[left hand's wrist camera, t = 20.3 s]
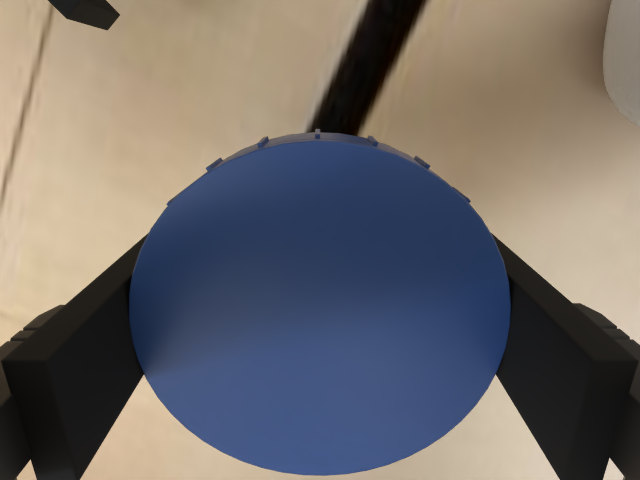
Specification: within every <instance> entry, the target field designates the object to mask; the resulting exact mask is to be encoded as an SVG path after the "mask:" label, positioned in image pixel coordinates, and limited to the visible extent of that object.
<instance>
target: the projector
mask: <svg viewBox="0 0 640 480" xmlns="http://www.w3.org/2000/svg"><path fill="white" fill-rule="evenodd" d="M603 76H604V82H605V87H606V89H607V92H608V95H609V97H610V99H611V101H612V102H613V104H614V105H615V107H616V108H617V109H618V110H619V111H620V112H621V113H622V114H623V115H624V116H625V117H626V118H627V119H628V120H629V121H630V122H632V123H634V124H635V125H637V126H638V127H640V0H611V5H610V9H609V15H608V21H607V27H606V33H605V39H604V51H603Z"/></svg>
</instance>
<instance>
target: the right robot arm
mask: <svg viewBox="0 0 640 480" xmlns="http://www.w3.org/2000/svg"><path fill="white" fill-rule="evenodd" d="M48 1H49V2H50V3H51V4H52V5H53V6H54V7H55V8H56V9H57V10H58V11H59V12H60V13H61V14H62V15H63V16H64V17H66V18H67V19H70V20H73V21H77V22H80V23H84V24H87V25H91V26H94V27H98V28H101V29H104V30H108V29H109V28H110V27H111V26H112V24H113V23H114V22H115V21H116V19H117V18H118V17H119V16H120V14H119V13H118V12H117V11H116V10H115V9H114V8H113V7H112V6H111V5H110V4H109V3H108V2H107V1H106V0H48Z"/></svg>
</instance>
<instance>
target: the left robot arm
mask: <svg viewBox="0 0 640 480" xmlns="http://www.w3.org/2000/svg"><path fill="white" fill-rule="evenodd" d="M148 234H149V233H148ZM148 234H147V235H146V236H145V237H143V238H142V239H141V240H140V241H139V242H138V243H136V244H135V245H134V246H133V247H132V248H131V249H130V250H128V251H127V252H126V253H125V254H124V255H123V256H121V257H120V258H119V259H118V260H117V261H116V262H115V263H113V264H112V265H111V266H110V267H109V268H108V269H106V270H105V271H104V272H103V273H102V274H101V275H99V276H98V277H97V278H96V279H95V280H94V281H93V282H91V283H90V284H89V285H88V286H87V287H86V288H84V289H83V290H82V291H81V292H80V293H79V294H78V295H76V296H75V297H74V298H73V299H72V300H71V301H69V302H68V303H67V304H66V305H59V306H57V307H55V308H53V309H51V310H49V311H47V312H45V313H43V314H41V315H39V316H37V317H36V318H35V319H34V320H33V321H31V322H30V323H29V324H28V325H26V326H25V327H24V328H23V331H19V332H18V333H17V334H16V335H14V336H13V337H12V338H11V340H10V341H7V342H6V343H5V344H3V345H2V346H1V347H0V480H17V478H16V477H17V476H18V475H19V473H20V472H21V471H22V470H23V468H24V467H25V466H26V464H27V463H28V462H29V460H30V459H31V462H32V465H33V468H34V472H35V475H36V478H37V480H80V478H81V477H82V475H83V474H84V472H85V470H86V469H87V467H88V465H89V464H90V462H91V460H92V459H93V457H94V455H95V454H96V452H97V450H98V449H99V447H100V446H101V444H102V442H103V441H104V439H105V437H106V436H107V434H108V432H109V431H110V429H111V427H112V426H113V424H114V423H115V421H116V419H117V418H118V416H119V414H120V413H121V411H122V409H123V408H124V406H125V404H126V403H127V401H128V399H129V398H130V396H131V395H132V393H133V391H134V390H135V388H136V386H137V385H138V383H139V381H140V380H141V378H142V376H143V375H144V373H143V370H142V368H141V366H140V364H139V361H138V359H137V355H136V352H135V349H134V345H133V340H132V334H131V328H130V323H129V292H130V286H131V280H132V274H133V270H134V267H135V264H136V261H137V258H138V255H139V252H140V249H141V247H142V245H143V244H144V242H145V240H146V238H147V236H148ZM491 235H492V236H493V238H494V240H495V242H496V244H497V247H498V249H499V251H500V254H501V256H502V259H503V261H504V265H505V269H506V273H507V277H508V281H509V288H510V299H511V316H510V327H509V333H508V338H507V344H506V348H505V352H504V354H503V357H502V360H501V362H500V365H499V368H498V370H497V372H496V375H497V377H498V379H499V380H500V382H501V384H502V385H503V387H504V388H505V390H506V392H507V393H508V395H509V397H510V398H511V400H512V402H513V403H514V405H515V407H516V408H517V410H518V411H519V413H520V415H521V416H522V418H523V420H524V421H525V423H526V425H527V426H528V428H529V430H530V431H531V433H532V435H533V436H534V438H535V439H536V441H537V443H538V444H539V446H540V448H541V449H542V451H543V453H544V454H545V456H546V458H547V459H548V461H549V462H550V464H551V466H552V467H553V469H554V471H555V472H556V474H557V476H558V477H559V479H560V480H603V477H604V474H605V470H606V467H607V464H608V461H609V457H610V459H611V460H612V461H613V462H614V464H615V465H616V466H617V468H618V469H619V470H620V471H621V473H622V474H623V475H624V478H623V480H640V345H639V344H638V343H636V342H635V341H634V340H630V337H629V336H628V335H627V334H625V333H624V332H623V331H622V330H620V329H617V326H616V325H614V324H613V323H612V322H611V321H609V320H608V319H607V318H606V317H605V316H603V315H602V314H600V313H598V312H596V311H594V310H592V309H590V308H588V307H586V306H584V305H582V304H580V303H571V302H570V301H569V300H568V299H567V298H566V297H564V296H563V295H562V294H561V293H560V292H559V291H558V290H556V289H555V288H554V287H553V286H552V285H551V284H549V283H548V282H547V281H546V280H545V279H544V278H543V277H541V276H540V275H539V274H538V273H537V272H536V271H534V270H533V269H532V268H531V267H530V266H529V265H527V264H526V263H525V262H524V261H523V260H522V259H521V258H519V257H518V256H517V255H516V254H515V253H514V252H512V251H511V250H510V249H509V248H508V247H507V246H506V245H504V244H503V243H502V242H501V241H500V240H499V239H497V238H496V237H495V236H494V235H493V234H492V233H491Z"/></svg>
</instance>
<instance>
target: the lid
mask: <svg viewBox="0 0 640 480" xmlns="http://www.w3.org/2000/svg"><path fill="white" fill-rule="evenodd" d="M429 167H430V165H428V164H427V163H426V162H424V161H423V160H422V159H420V158H419V157H417V156H415V158H414V159H413V158H412V157H410V156H409V155H407V154H405V153H403V152H401V151H399V150H396V149H394V148H392V147H390V146H388V145H386V144H382V143H379V142H377V141H376V140H375V139H374V138H373V137H372V136H368V138H367V139H366V138H363V137H358V136H352V135H346V134H340V133H320V129H316V130H315V132H313V133H303V134H293V135H286V136H282V137H278V138H274V139H270V140H269V139H268V137H264V138H263V139H262V140H261V141H260V142H258V143H257V144H255V145H252V146H250V147H247V148H245V149H242V150H240V151H239V152H237V153H235V154H233V155H231V156H230V157H228V158H226V159H224V160H222V159H221V158H219V159H218V160H216V161H215V162H214V163H212V164H211V165H209V166H208V167H207V168H206V169H207V171H208V172H206V173H205V174H204V175H203V176H201V177H200V178H199V179H197V180H196V181H195V182H193V183H192V184H191V185H190V186H188V187H187V188H186V189H184V190H183V191H182V192H180V193H179V194H178V195H176V196H175V197H174V198H173V199H171V200H170V201H169V202H168V203H167V205H168V207H167V208H166V209H165V210H164V211H163V213H162V214H161V216H160V217H159V218H158V220H157V221H156V223H155V224H154V225H153V227H152V228H151V230H150V232H149V234H148V236H147V238H146V240H145V242H144V244H143V245H142V247H141V249H140V252H139V255H138V258H137V261H136V264H135V267H134V270H133V274H132V280H131V286H130V292H129V323H130V328H131V334H132V340H133V345H134V349H135V352H136V355H137V359H138V361H139V364H140V366H141V368H142V370H143V373H144V375H145V377H146V379H147V381H148V382H149V384H150V386H151V387H152V389H153V390H154V392H155V394H156V395H157V397H158V398H159V399H160V401H161V402H162V403H163V404H164V406H165V407H166V408H167V409H168V410H169V412H170V413H171V414H172V415H173V416H174V417H175V418H176V419H177V420H178V421H179V422H180V423H181V424H182V425H184V426H185V427H186V428H187V429H188V430H189V431H191V432H192V433H193V434H195V435H196V436H197V437H199V438H200V439H201V440H203V441H204V442H206V443H207V444H209V445H211V446H212V447H214V448H216V449H218V450H219V451H221V452H223V453H225V454H227V455H229V456H232V457H234V458H236V459H238V460H240V461H243V462H246V463H249V464H252V465H255V466H258V467H261V468H265V469H269V470H274V471H278V472H283V473H291V474H299V475H321V476H326V475H340V474H350V473H355V472H361V471H367V470H371V469H374V468H378V467H381V466H385V465H389V464H391V463H394V462H396V461H399V460H401V459H404V458H406V457H409V456H411V455H413V454H414V453H416V452H418V451H420V450H422V449H424V448H426V447H428V446H429V445H431V444H432V443H434V442H435V441H437V440H438V439H440V438H441V437H443V436H444V435H445V434H447V433H448V432H449V431H450V430H451V429H453V428H454V427H455V426H456V425H457V424H458V423H460V422H461V421H462V420H463V419H464V418H465V416H466V415H467V414H468V413H469V412H470V411H471V410H472V409H473V408H474V407H475V406H476V404H477V403H478V401H479V400H480V399H481V397H482V396H483V394H484V393H485V392H486V390H487V389H488V387H489V385H490V383H491V382H492V380H493V378H494V376H495V374H496V372H497V370H498V368H499V365H500V362H501V360H502V357H503V354H504V352H505V348H506V344H507V338H508V333H509V327H510V316H511V299H510V288H509V281H508V277H507V273H506V269H505V265H504V261H503V259H502V256H501V254H500V251H499V249H498V247H497V244H496V242H495V240H494V238H493V236H492V235H491V233H490V231H489V230H488V228H487V226H486V225H485V223H484V222H483V220H482V218H481V217H480V216H479V215H478V214H477V212H476V211H475V210H474V209H473V208H472V206H471V205H470V204H469V203H470V202H471V201H470V200H469V199H468V198H467V197H466V196H464V195H463V194H462V193H460V192H459V191H458V190H457V189H455V188H454V187H453V188H452V187H451V186H450V185H449V184H448V183H447V182H445V181H444V180H443V179H441V178H440V177H439V176H438V175H436V174H435V173H434V172H432V171H431V170H430V169H429Z"/></svg>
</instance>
